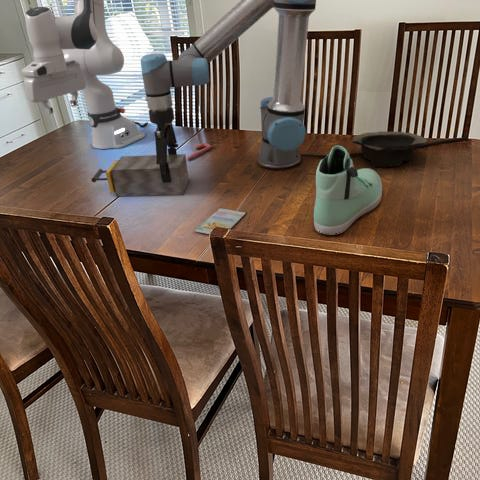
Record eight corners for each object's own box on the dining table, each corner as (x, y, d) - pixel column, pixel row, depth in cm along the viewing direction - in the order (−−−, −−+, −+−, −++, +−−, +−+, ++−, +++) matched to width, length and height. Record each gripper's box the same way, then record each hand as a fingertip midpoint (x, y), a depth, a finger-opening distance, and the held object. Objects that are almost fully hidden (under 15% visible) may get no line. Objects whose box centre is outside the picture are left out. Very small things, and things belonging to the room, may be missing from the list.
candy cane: (177, 158, 182) (177, 154, 181) (202, 145, 192) (201, 141, 191) (189, 161, 179) (189, 157, 178) (214, 147, 189) (213, 144, 188)
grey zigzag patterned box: (117, 196, 157) (111, 169, 152) (127, 181, 167) (121, 156, 162) (182, 194, 155) (178, 167, 150) (188, 179, 164) (185, 154, 159)
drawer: (92, 193, 158) (87, 172, 154) (102, 180, 167) (98, 160, 163) (172, 191, 155) (168, 170, 151) (178, 178, 164) (175, 157, 160)
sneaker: (389, 187, 148) (396, 123, 138) (356, 242, 123) (361, 168, 112) (346, 181, 154) (350, 119, 144) (306, 232, 129) (307, 161, 118)
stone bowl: (385, 177, 154) (386, 150, 149) (337, 159, 174) (336, 134, 170) (441, 159, 162) (444, 132, 158) (389, 143, 183) (390, 119, 178)
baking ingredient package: (194, 230, 133) (219, 207, 144) (194, 231, 133) (219, 208, 144) (222, 235, 129) (246, 211, 141) (222, 237, 129) (246, 213, 141)
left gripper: (71, 58, 158) (81, 100, 165) (16, 71, 144) (30, 116, 151) (84, 59, 155) (93, 102, 162) (29, 72, 141) (42, 119, 148)
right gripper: (157, 98, 157) (167, 160, 168) (138, 121, 136) (150, 190, 148) (180, 97, 156) (188, 159, 167) (164, 119, 136) (174, 189, 147)
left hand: (62, 109), depth 156 cm, fingers open, 8 cm apart
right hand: (170, 174), depth 157 cm, fingers closed on grey zigzag patterned box, 11 cm apart
